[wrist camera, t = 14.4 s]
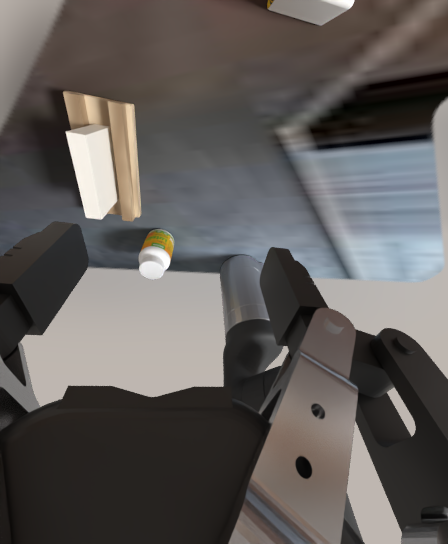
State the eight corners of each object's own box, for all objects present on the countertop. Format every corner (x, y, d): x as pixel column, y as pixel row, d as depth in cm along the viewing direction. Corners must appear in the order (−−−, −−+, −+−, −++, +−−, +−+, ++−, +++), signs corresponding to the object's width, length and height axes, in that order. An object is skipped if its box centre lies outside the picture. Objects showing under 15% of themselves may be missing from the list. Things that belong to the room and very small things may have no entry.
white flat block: (110, 126, 30) (85, 135, 24) (119, 198, 36) (101, 219, 30) (93, 123, 29) (64, 131, 23) (105, 196, 36) (84, 217, 29)
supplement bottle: (172, 227, 42) (164, 256, 34) (176, 251, 45) (170, 282, 38) (143, 228, 41) (130, 258, 34) (150, 252, 45) (139, 283, 37)
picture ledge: (134, 104, 30) (127, 105, 27) (141, 213, 39) (136, 221, 37) (69, 91, 28) (56, 90, 26) (93, 207, 38) (85, 215, 36)
